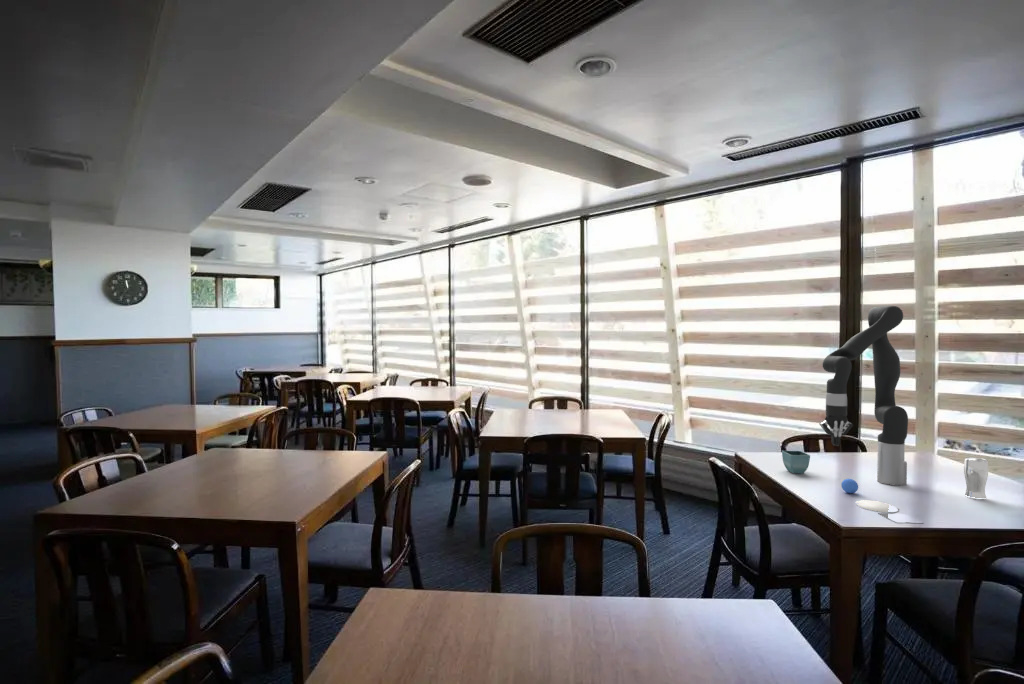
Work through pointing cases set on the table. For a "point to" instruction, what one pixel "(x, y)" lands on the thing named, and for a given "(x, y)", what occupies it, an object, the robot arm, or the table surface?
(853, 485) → the ball
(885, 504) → the disc
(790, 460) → the flower pot
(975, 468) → the beer glass
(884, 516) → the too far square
